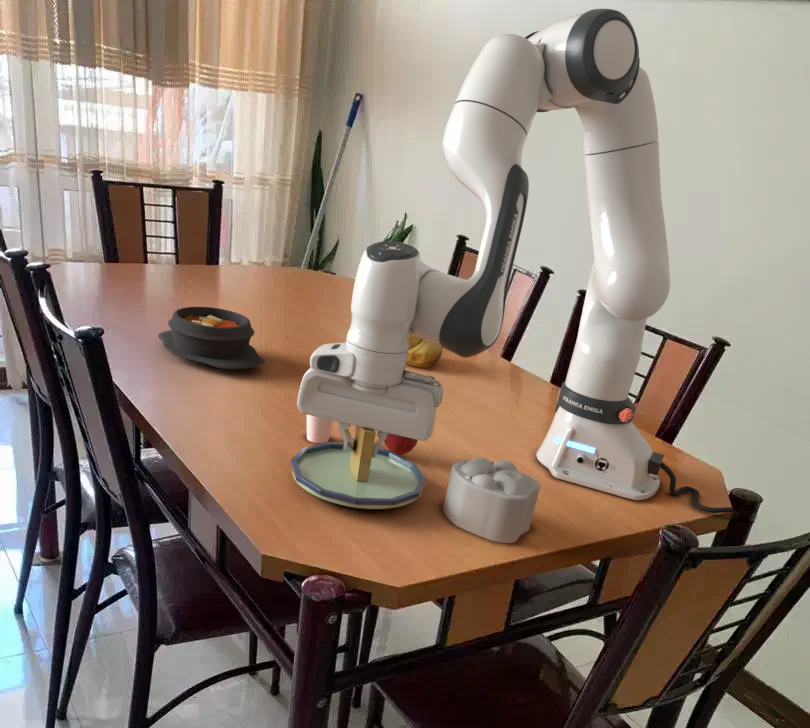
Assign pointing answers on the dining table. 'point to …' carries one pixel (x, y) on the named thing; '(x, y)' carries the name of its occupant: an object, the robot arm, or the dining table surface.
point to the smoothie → (318, 429)
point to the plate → (346, 484)
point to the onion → (400, 444)
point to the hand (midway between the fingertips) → (360, 452)
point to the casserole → (211, 338)
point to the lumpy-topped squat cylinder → (491, 499)
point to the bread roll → (422, 352)
